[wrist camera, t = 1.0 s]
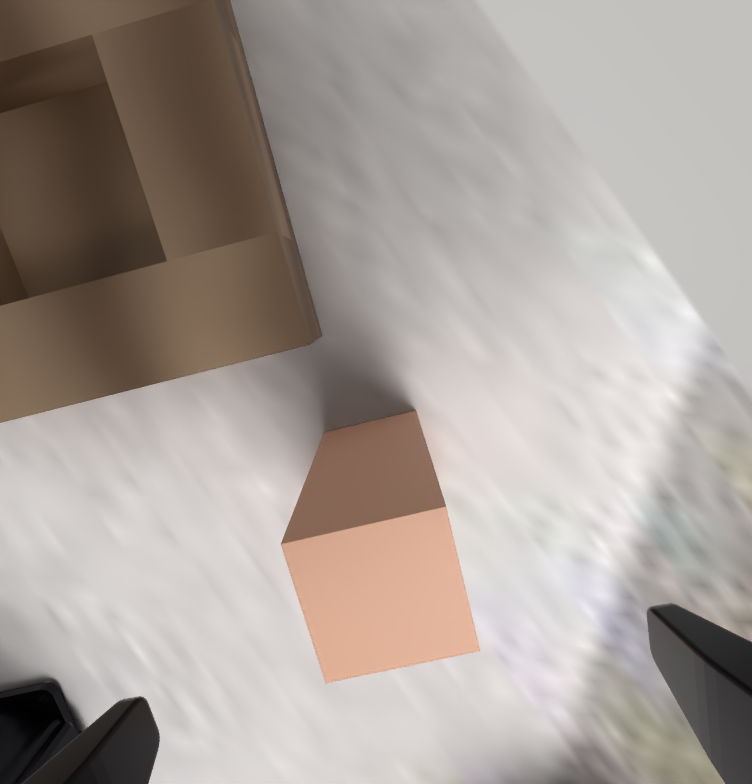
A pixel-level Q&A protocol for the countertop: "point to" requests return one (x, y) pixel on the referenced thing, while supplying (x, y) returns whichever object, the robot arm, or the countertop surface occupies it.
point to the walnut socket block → (135, 203)
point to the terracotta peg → (377, 553)
